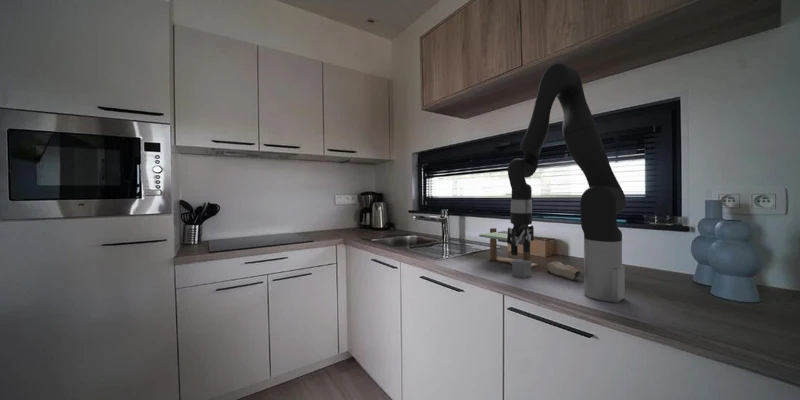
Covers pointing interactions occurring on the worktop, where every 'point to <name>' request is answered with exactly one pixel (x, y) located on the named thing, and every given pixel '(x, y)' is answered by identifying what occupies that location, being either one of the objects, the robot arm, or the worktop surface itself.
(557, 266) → the bone fragment
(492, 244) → the frame
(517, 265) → the grey block
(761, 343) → the worktop surface
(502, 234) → the trapdoor
